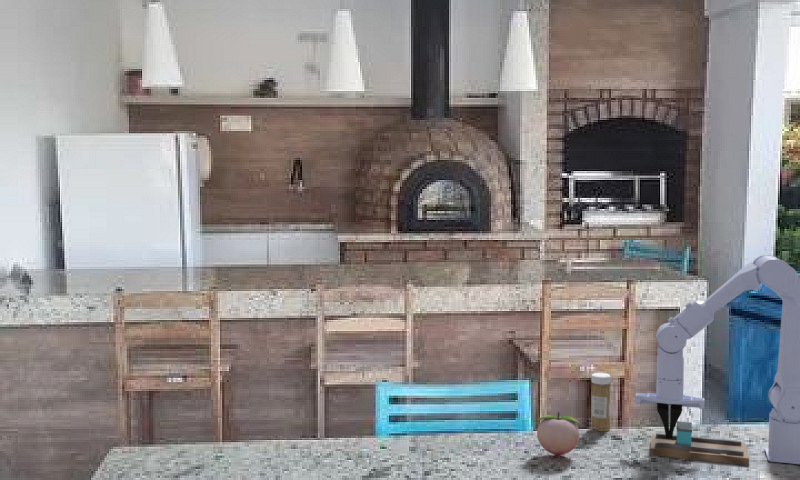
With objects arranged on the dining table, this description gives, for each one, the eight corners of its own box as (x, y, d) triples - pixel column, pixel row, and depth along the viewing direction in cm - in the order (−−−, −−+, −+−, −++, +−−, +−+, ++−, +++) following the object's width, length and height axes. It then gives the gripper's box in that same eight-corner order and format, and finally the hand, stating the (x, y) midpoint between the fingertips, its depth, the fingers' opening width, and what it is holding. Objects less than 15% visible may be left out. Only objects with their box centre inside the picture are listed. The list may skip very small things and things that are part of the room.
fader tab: (691, 439, 179) (691, 422, 178) (691, 447, 174) (692, 429, 173) (676, 438, 180) (676, 421, 179) (676, 446, 175) (676, 428, 174)
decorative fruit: (539, 463, 170) (540, 418, 169) (534, 450, 178) (534, 406, 178) (583, 463, 170) (584, 418, 169) (576, 450, 178) (576, 406, 177)
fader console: (745, 449, 177) (745, 439, 177) (749, 465, 168) (749, 454, 168) (651, 440, 184) (651, 430, 184) (650, 455, 174) (650, 444, 174)
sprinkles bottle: (613, 428, 192) (614, 374, 191) (603, 433, 189) (604, 378, 188) (597, 424, 196) (598, 371, 195) (587, 428, 193) (587, 374, 191)
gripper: (704, 375, 178) (703, 434, 179) (637, 370, 183) (636, 428, 184) (705, 383, 171) (704, 444, 172) (635, 378, 176) (634, 438, 177)
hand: (669, 436), depth 178 cm, fingers closed
